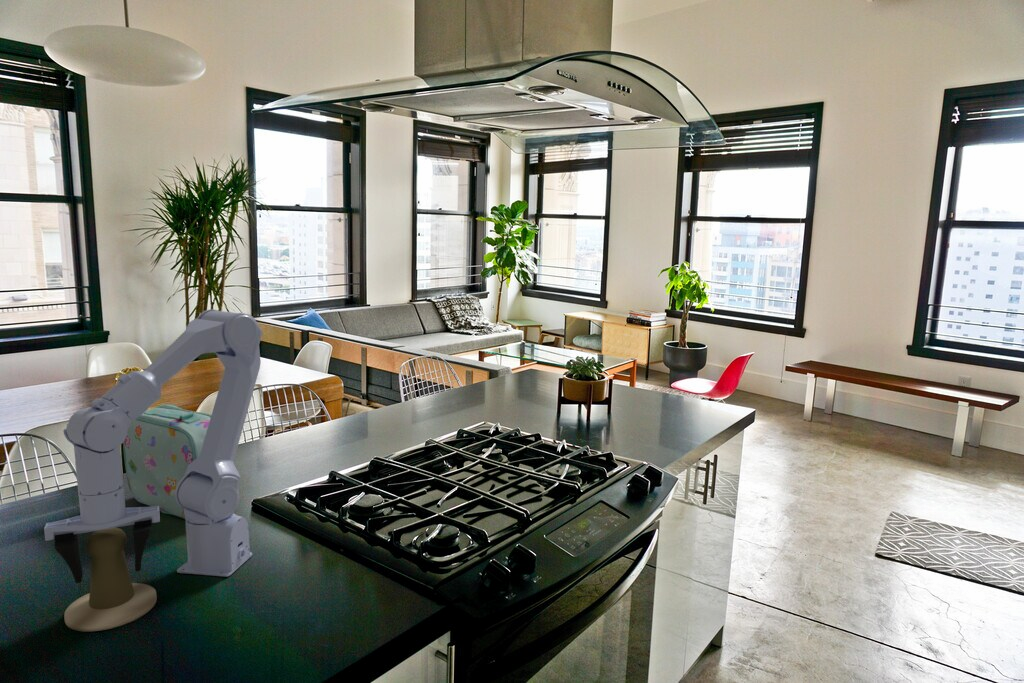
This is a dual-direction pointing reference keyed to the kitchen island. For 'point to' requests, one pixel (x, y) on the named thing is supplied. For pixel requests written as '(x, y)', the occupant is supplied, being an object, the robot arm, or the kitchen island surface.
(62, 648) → the kitchen island surface
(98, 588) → the pepper shaker
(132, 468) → the lunch box
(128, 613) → the cork trivet
